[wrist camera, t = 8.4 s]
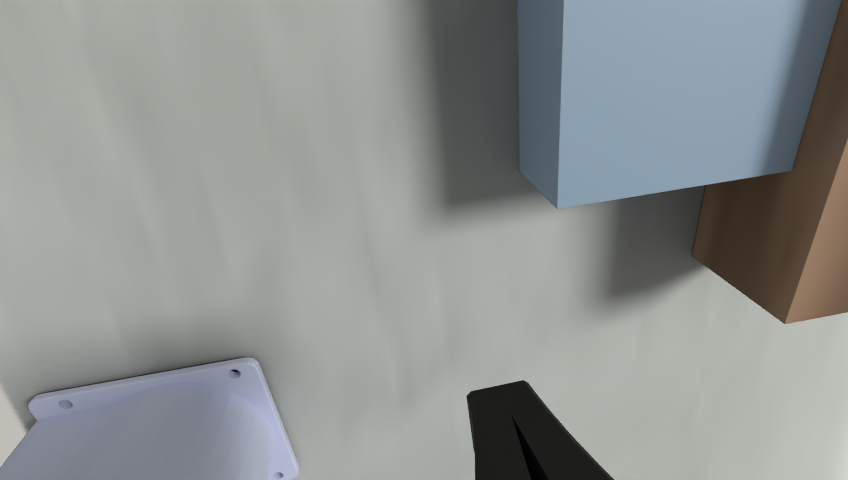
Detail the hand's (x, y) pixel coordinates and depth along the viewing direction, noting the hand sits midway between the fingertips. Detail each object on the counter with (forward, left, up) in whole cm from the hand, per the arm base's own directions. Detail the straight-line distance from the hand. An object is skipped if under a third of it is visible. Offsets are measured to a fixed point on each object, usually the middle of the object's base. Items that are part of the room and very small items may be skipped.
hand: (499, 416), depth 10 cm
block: (+8, +7, -9) cm, 14 cm away
